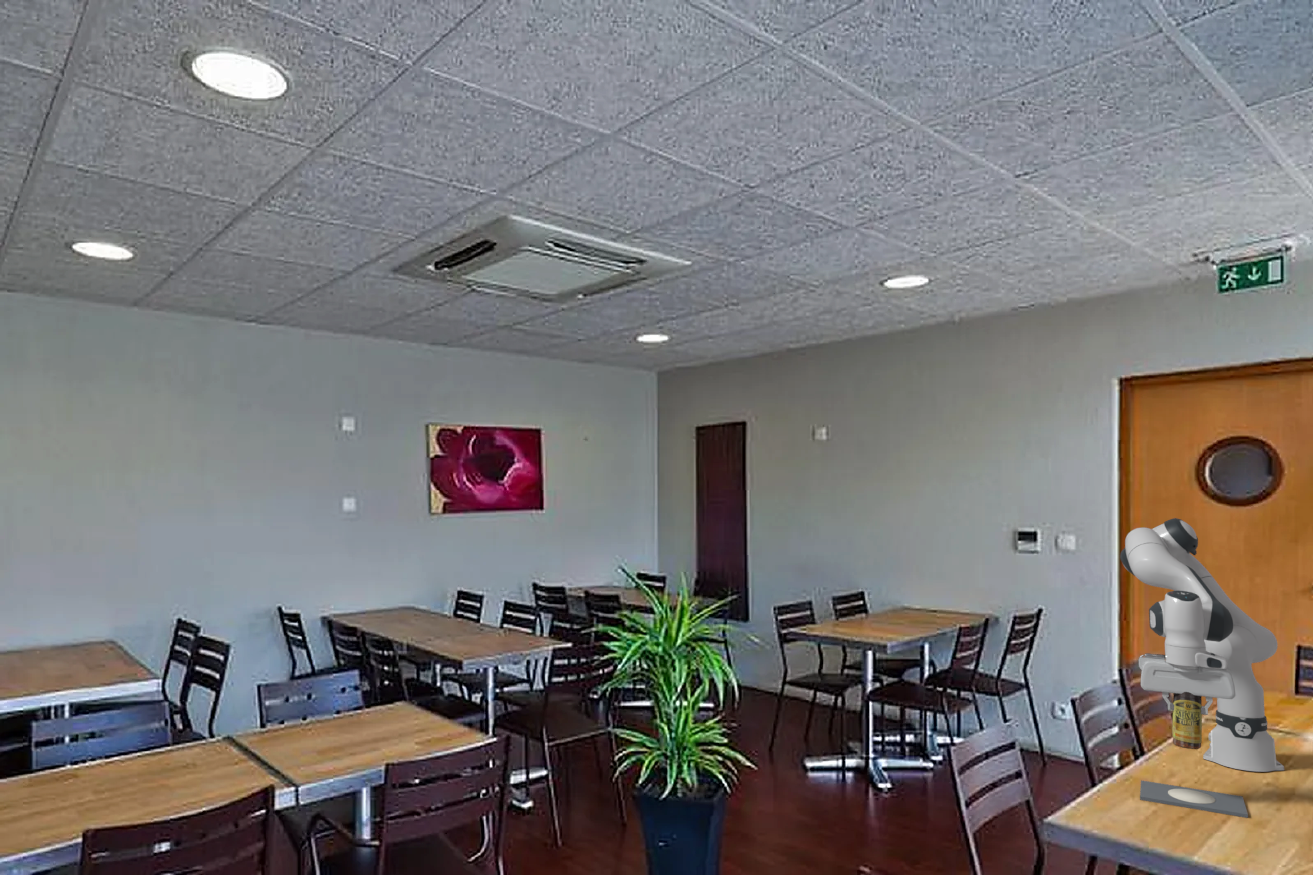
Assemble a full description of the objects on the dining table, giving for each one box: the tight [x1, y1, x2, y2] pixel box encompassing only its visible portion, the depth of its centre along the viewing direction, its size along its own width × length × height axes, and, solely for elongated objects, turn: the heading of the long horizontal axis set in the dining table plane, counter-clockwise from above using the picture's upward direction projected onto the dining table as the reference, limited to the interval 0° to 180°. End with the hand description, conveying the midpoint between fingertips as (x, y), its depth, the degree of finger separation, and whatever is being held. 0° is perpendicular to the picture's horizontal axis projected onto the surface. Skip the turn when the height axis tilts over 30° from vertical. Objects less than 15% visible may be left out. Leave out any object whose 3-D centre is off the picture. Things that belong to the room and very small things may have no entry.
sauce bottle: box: [1171, 692, 1203, 750], centre depth 209 cm, size 7×6×20 cm
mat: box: [1139, 779, 1249, 819], centre depth 207 cm, size 14×22×1 cm, turn 59°
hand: (1187, 712), depth 209 cm, fingers closed on sauce bottle, 6 cm apart
